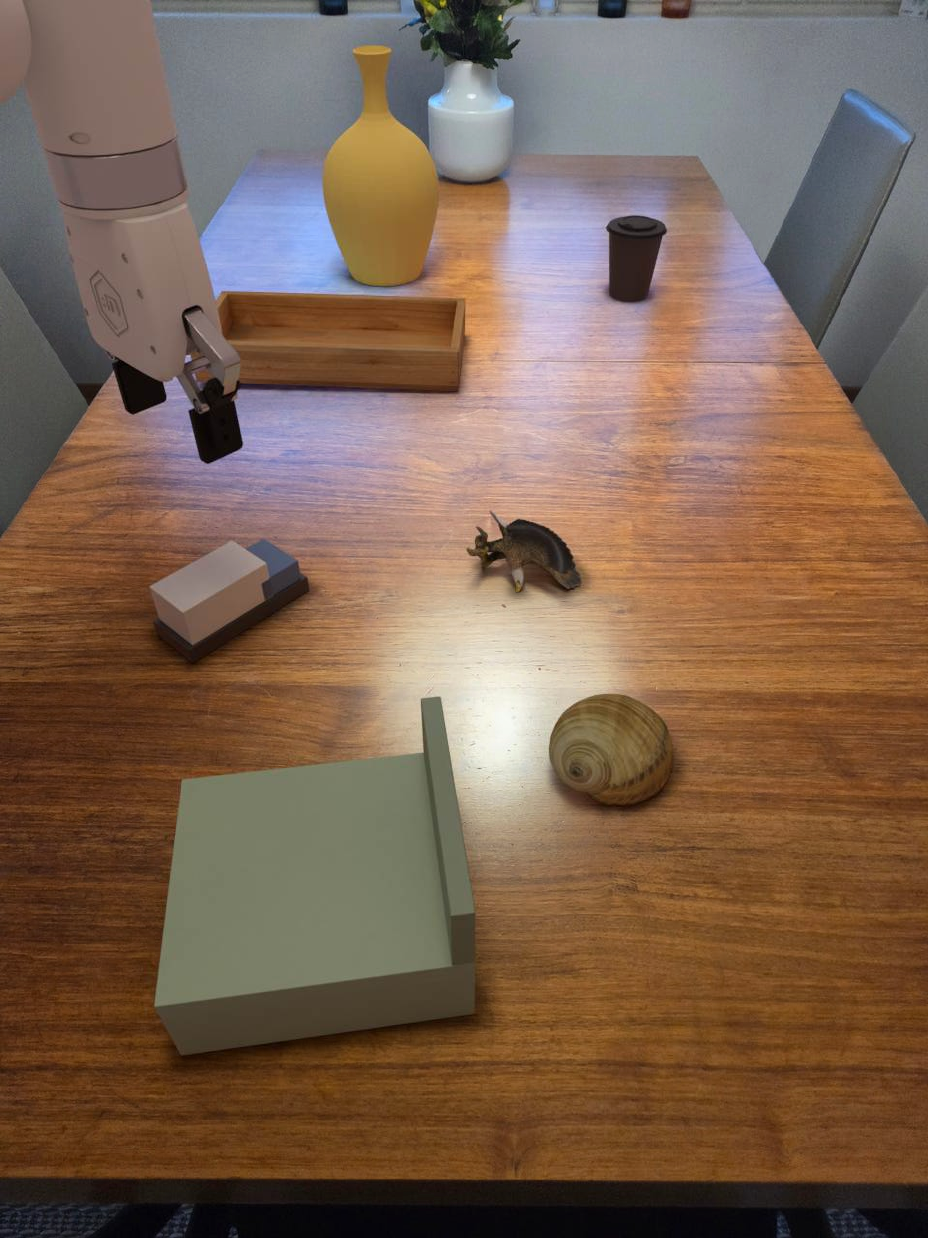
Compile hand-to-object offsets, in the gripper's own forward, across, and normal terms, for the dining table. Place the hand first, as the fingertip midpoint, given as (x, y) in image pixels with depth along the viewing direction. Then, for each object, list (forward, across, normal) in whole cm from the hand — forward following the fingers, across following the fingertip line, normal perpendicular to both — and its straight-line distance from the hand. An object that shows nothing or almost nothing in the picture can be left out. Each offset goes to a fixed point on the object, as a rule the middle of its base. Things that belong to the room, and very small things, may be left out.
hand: (183, 429), depth 63 cm
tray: (+17, -28, +36) cm, 48 cm away
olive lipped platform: (+17, +29, -12) cm, 35 cm away
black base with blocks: (+17, +2, 0) cm, 17 cm away
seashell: (+17, +34, +9) cm, 39 cm away
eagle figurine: (+17, +16, +20) cm, 31 cm away
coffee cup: (+17, -14, +77) cm, 80 cm away
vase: (+17, -45, +59) cm, 76 cm away
